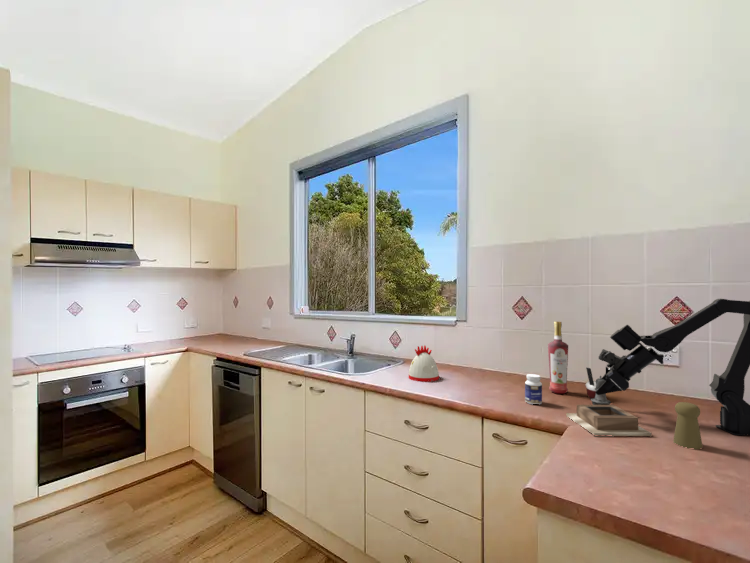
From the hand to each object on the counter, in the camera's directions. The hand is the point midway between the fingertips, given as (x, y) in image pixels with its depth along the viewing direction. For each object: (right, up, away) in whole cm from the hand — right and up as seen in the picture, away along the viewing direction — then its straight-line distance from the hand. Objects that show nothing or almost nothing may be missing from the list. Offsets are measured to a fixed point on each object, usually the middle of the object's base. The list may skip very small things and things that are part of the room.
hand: (596, 390), depth 127 cm
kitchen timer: (-53, -8, +46) cm, 70 cm away
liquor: (-2, -7, +21) cm, 23 cm away
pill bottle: (-18, -7, +9) cm, 21 cm away
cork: (+8, -7, -27) cm, 29 cm away
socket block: (-5, -7, -14) cm, 16 cm away
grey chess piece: (+1, -7, -1) cm, 7 cm away
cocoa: (+7, -7, +13) cm, 17 cm away
